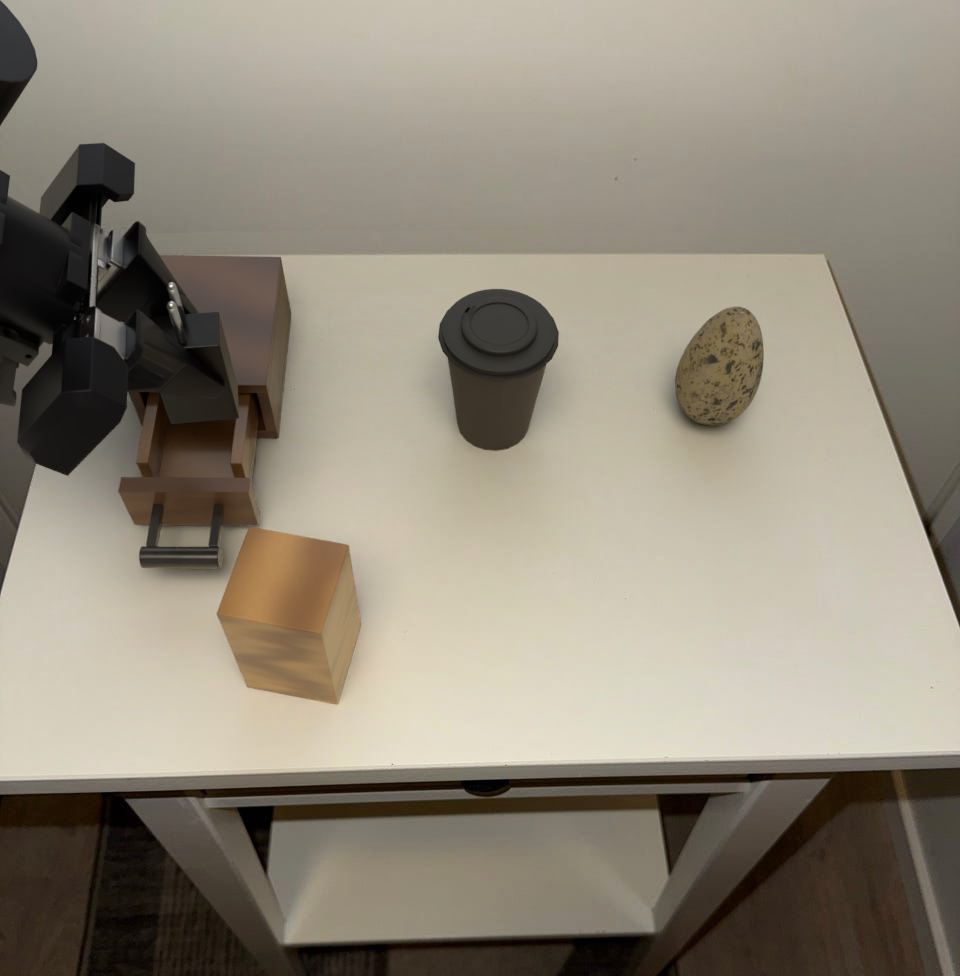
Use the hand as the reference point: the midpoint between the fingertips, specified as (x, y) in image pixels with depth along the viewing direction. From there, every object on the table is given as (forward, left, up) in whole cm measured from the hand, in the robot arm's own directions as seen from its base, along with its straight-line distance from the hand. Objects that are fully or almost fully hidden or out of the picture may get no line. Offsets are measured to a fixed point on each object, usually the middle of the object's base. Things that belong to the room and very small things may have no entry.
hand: (219, 372), depth 57 cm
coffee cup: (+13, +13, -14) cm, 23 cm away
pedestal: (+7, -10, -14) cm, 18 cm away
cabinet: (-8, +11, -14) cm, 19 cm away
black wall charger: (-1, -1, -3) cm, 3 cm away
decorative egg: (+28, +19, -14) cm, 37 cm away
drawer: (-4, 0, -13) cm, 13 cm away
